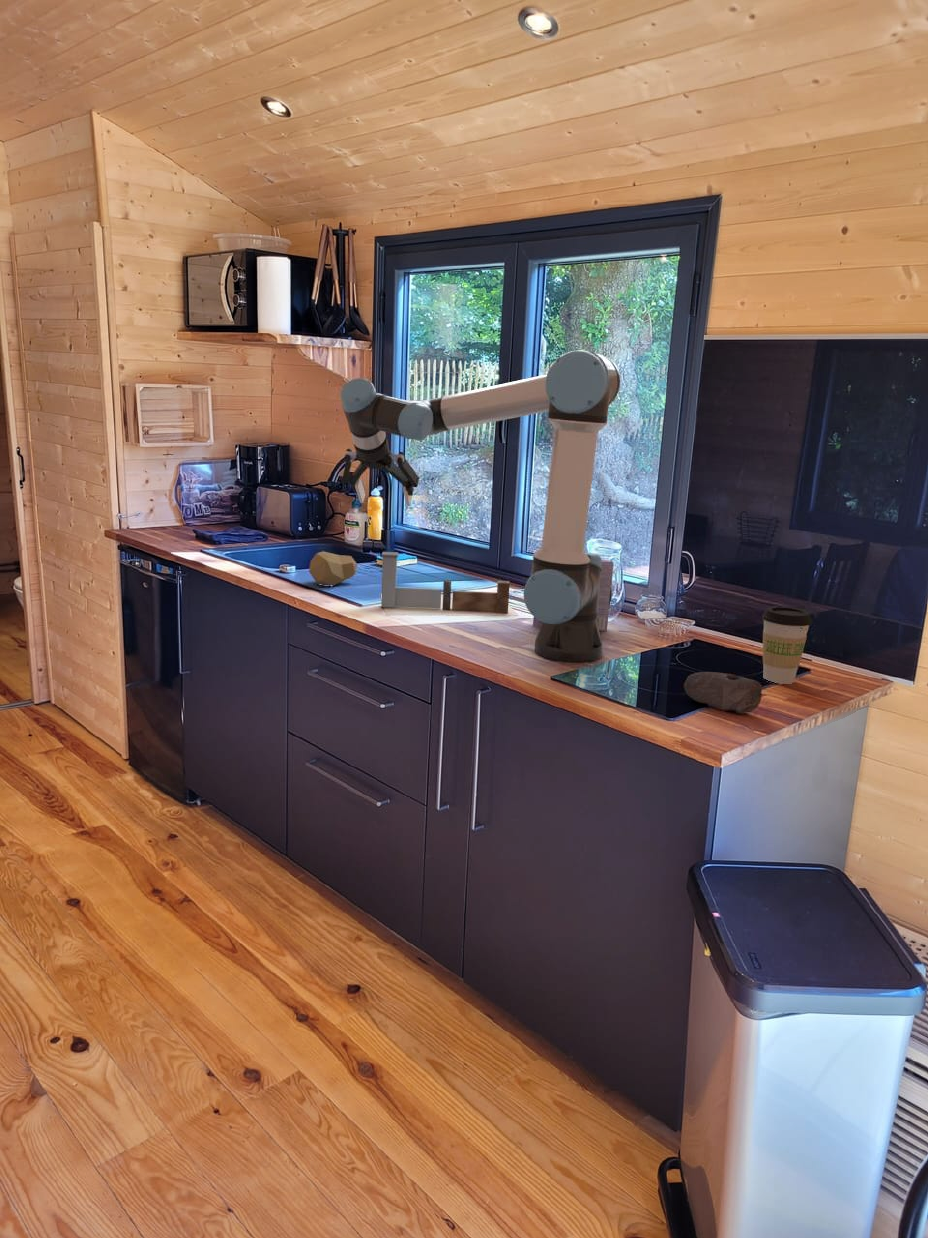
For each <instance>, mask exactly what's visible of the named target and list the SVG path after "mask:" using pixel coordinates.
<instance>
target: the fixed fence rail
mask: <svg viewBox="0 0 928 1238" xmlns="http://www.w3.org/2000/svg"><path fill="white" fill-rule="evenodd" d="M510 583H511V582H510V580H497V585H496V586H497V588H496V592H495V591H494V592H493V591H490V592H489V591H474V590H473V591H467V590H452V581H451V580H443V588H442V594H443V607H442V610H450V600H451V594H453V598H452V610H461V611H483V612H496V613H503V614H508V604H509V602H510V601H509V600H510V587H511V586H510Z"/></svg>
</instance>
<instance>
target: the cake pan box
mask: <svg viewBox="0 0 928 1238" xmlns="http://www.w3.org/2000/svg"><path fill="white" fill-rule="evenodd" d="M601 560H602V571H601V579H600V591H599V602H598V613H597V624H598V628H599V632H600V631H602V632H607V631H608V623H609V615H610V613H609V610H610V604H611V603H612V596H613V593H612V592H613V591H612V582H613V574H614V561H611V560H609V559H601ZM532 618H533V620H532V626H534V627H535V629H536V630H537V629H539V630H540V628H541V625H542V623H543V622H542V621H540V620H538V619H536V618H535V617H534V616H533V617H532Z"/></svg>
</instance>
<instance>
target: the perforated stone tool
mask: <svg viewBox="0 0 928 1238" xmlns="http://www.w3.org/2000/svg"><path fill="white" fill-rule="evenodd" d="M683 688H684V691H685V693H686V695H687V696H688V697H689V698H691V699H692V700H694V701H695V702H698V703H700V704H706V705H707V706H708V707H710V708H714V709H716V710H720V711H723V712H726V711H734V712H735V713H736V714H740V715H742V714H745V713H751V712H753V711H754V710H756V709H757V708H758V707H759V705H760V703H761V700H762V697H763V695H762V691H763V685H762V684H761V683H760V682H759V681H757V680H755V679H752V678H747V677H744V676H738V675H735V674H731V673H724V672H715V671H714V672H713V671H701V672H700V671H699V672H694V673H692V674H690V675H688V676H687V678H686V680H685V681H684V684H683Z"/></svg>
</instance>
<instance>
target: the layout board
mask: <svg viewBox="0 0 928 1238" xmlns="http://www.w3.org/2000/svg"><path fill="white" fill-rule="evenodd" d="M380 594H381V598H380V601H381V600H382V593H380ZM452 598H453V593H451V600H450V610H442V607H443V593H441V608H440V609H436V608H414V607H395V608H392V607H383V609H384V611H385V614H386V616H502V617H503V616H506V617H507V616H509V617H510V616H512V617H513V616H516V617H517V616H520V615H519V614H518V613H517V612H516V611H515V609H513V607H512V606H511V605H510V604H509V603H508V614H503V613H496V612H483V611H461V610H452Z"/></svg>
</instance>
